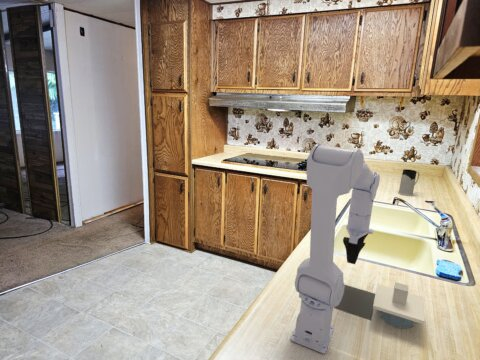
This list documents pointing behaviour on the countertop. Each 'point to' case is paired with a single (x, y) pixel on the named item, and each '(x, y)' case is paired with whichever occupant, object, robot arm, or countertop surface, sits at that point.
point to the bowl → (396, 320)
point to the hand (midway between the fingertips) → (353, 257)
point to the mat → (357, 302)
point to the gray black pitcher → (408, 182)
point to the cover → (399, 302)
